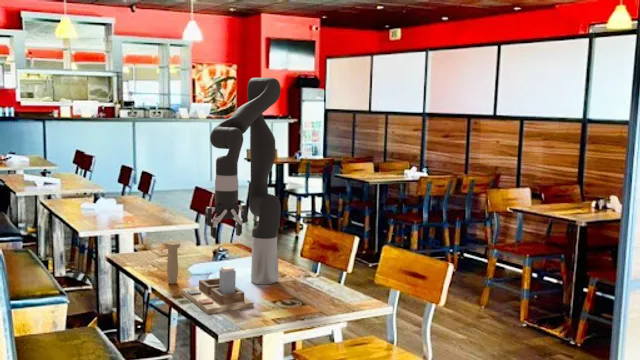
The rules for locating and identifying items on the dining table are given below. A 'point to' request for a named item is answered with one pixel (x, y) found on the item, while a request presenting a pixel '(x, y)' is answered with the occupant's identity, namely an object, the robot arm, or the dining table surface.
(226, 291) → the plug
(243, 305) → the socket board
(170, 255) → the handle
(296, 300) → the dining table surface
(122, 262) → the dining table surface
